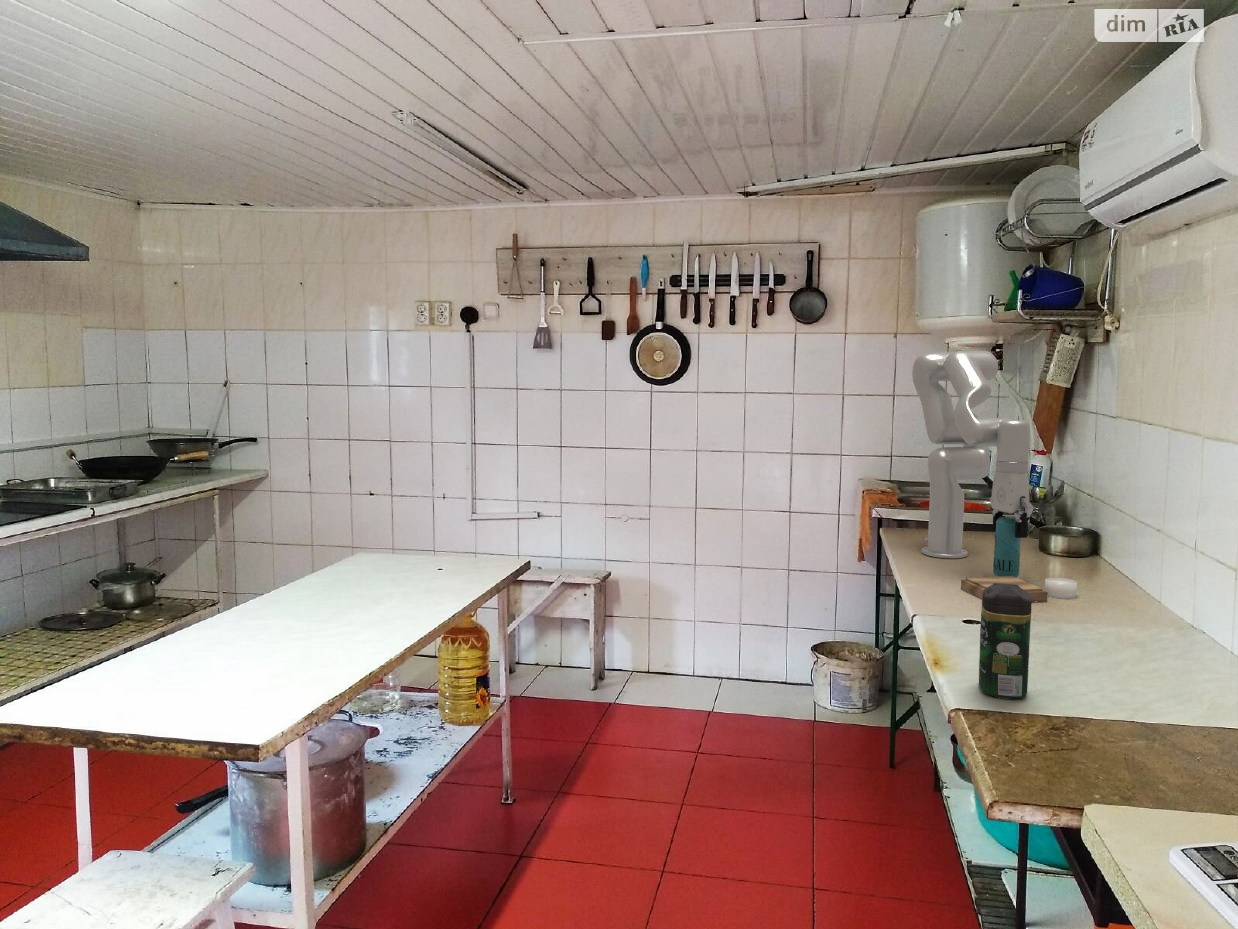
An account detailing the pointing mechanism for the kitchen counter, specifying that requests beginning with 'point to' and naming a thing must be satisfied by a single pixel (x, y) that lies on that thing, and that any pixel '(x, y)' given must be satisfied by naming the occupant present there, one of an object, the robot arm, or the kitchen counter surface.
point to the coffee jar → (1004, 641)
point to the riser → (980, 583)
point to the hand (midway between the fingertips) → (1009, 534)
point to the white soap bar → (1061, 588)
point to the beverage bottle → (1006, 548)
